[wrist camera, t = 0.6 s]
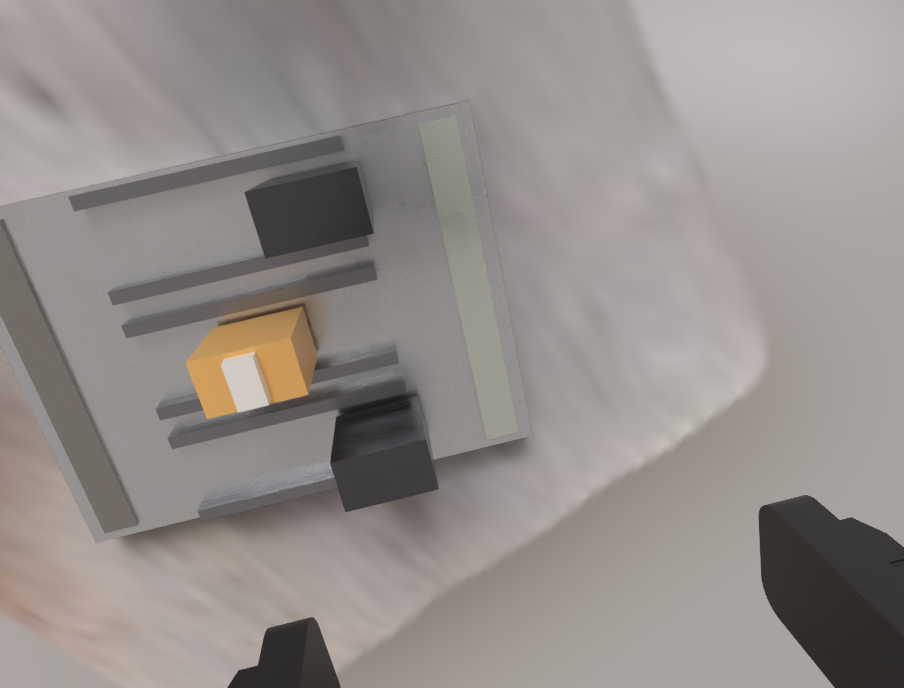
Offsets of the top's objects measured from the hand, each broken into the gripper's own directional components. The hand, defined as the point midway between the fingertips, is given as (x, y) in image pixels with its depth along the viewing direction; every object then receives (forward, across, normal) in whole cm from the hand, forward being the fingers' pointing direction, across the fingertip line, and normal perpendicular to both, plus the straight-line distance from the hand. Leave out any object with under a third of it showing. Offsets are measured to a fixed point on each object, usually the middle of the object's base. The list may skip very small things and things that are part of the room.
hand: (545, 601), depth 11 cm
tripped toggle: (+19, +8, 0) cm, 21 cm away
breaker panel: (+22, +8, 0) cm, 23 cm away
